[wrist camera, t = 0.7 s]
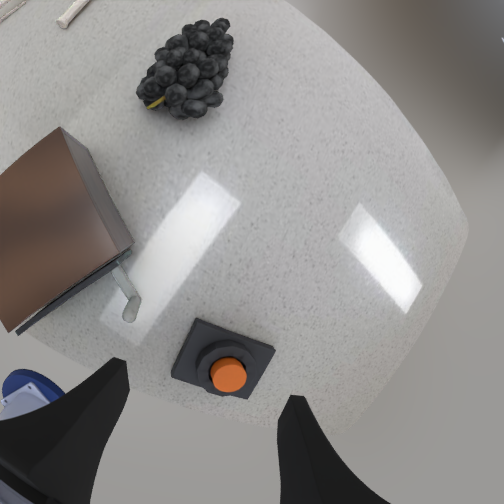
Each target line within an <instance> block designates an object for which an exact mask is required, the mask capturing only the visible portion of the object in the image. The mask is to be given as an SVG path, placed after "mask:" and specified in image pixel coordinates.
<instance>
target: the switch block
mask: <svg viewBox="0 0 504 504" xmlns="http://www.w3.org/2000/svg"><path fill="white" fill-rule="evenodd" d="M275 351H276V350H275V349H274V348H273V346H270V345H268V344H265V343H262V342H259V341H256V340H253V339H251V338H248V337H245V336H242V335H240V334H237V333H234V332H232V331H229V330H226V329H224V328H221V327H219V326H216V325H213V324H211V323H208V322H206V321H203V320H201V319H198V318H196V319H195V321H194V324H193V326H192V328H191V330H190V332H189V334H188V336H187V338H186V341H185V343H184V345H183V347H182V349H181V351H180V353H179V356H178V358H177V360H176V362H175V364H174V366H173V369H172V371H171V377H172V378H175V379H178V380H181V381H184V382H187V383H190V384H193V385H196V386H200V387H203V388H204V389H205V390H206V391H207V392H209V393H212V394H215V395H219V396H229V395H231V396H235V397H239V398H243V399H248V398H249V396H250V395H251V393H252V391H253V390H254V388H255V386H256V385H257V383H258V381H259V380H260V378H261V376H262V374H263V373H264V371H265V369H266V367H267V366H268V364H269V362H270V360H271V359H272V357H273V355H274V353H275ZM225 357H231V358H235V359H237V360H238V361H239V362H240V363H241V364H242V366H243V368H244V370H245V372H246V375H247V378H246V382H245V384H244V385H243V386H242V387H241V388H240V389H238V390H236V391H234V392H223V391H220V390H218V389H217V388H216V387H215V386H214V384H213V381H212V377H211V367H212V366H213V364H214V363H215V362H216V361H217V360H219V359H221V358H225Z"/></svg>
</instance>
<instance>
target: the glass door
mask: <svg viewBox="0 0 504 504" xmlns="http://www.w3.org/2000/svg"><path fill="white" fill-rule="evenodd" d="M131 254H132V252H131V250H130V249H129V250H127V251H126V252H124V253H123V254H122V255H120V256H119V257H117V258H116V259H114V260H113V261H111V262H109V263H108V264H106V265H105V266H103V267H102V268H100V269H99V270H97V271H96V272H94V273H93V274H91V275H90V276H88V277H87V278H85V279H84V280H83V281H81V282H80V283H78V284H77V285H75V286H74V287H72V288H71V289H70V290H68V291H67V292H65V293H64V294H63V295H61V296H60V297H58V298H57V299H56V300H54V301H53V302H51V303H50V304H49V305H47V306H46V307H45V308H43V309H42V310H41V311H40V312H38V313H37V314H36V315H35V316H33V317H32V318H31V319H30V320H29V321H27V322H26V323H25V324H24V325H22V326H21V327H20V328H19V329H17V330H16V331H15V332H16V334H17V335H18V336H19V335H20V334H21V333H23V332H24V331H25V330H27V329H28V328H29V327H31V326H32V325H33V324H35V323H36V322H37V321H39V320H40V319H41V318H43V317H44V316H46V315H47V314H48V313H50V312H51V311H53V310H54V309H55V308H57V307H58V306H60V305H61V304H62V303H64V302H65V301H67V300H68V299H70V298H71V297H72V296H74V295H75V294H77V293H78V292H80V291H81V290H83V289H84V288H86V287H87V286H89V285H90V284H92V283H93V282H95V281H96V280H98V279H99V278H101V277H102V276H104V275H105V274H107V273H108V272H111V273H112V275H113V277H114V278H115V280H116V282H117V283H118V285H119V286H120V288H121V290H122V291H123V293H124V294H125V296H126V297H127V299H128V300H129V301H128V303H127V305H126V307H125V309H124V311H123V314H122V317H123V319H124V321H126V322H128V323H132V322H134V321H135V319H136V316H137V313H138V310H139V307H140V304H141V297H140V296H139V294H138V293H137V291H136V290H135V288H134V286H133V285H132V283H131V282H130V280H129V278H128V277H127V275H126V273H125V272H124V270H123V269H122V267H121V265H120V264H121V263H122V262H123V261H124V260H125V259H127V258H128V257H129V256H130V255H131Z"/></svg>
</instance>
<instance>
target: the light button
mask: <svg viewBox="0 0 504 504" xmlns="http://www.w3.org/2000/svg"><path fill="white" fill-rule="evenodd" d="M211 377H212V381H213V384H214V386H215V387H216V388H217V389H218V390H220V391H223V392H234V391H236V390H238V389H240V388H241V387H242V386H243V385H244V384H245V382H246V378H247V375H246V372H245V370H244V368H243V366H242V364H241V363H240V362H239V361H238V360H237V359H235V358H231V357H225V358H221V359H219V360H217V361H216V362H215V363H214V364H213V366H212V367H211Z"/></svg>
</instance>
